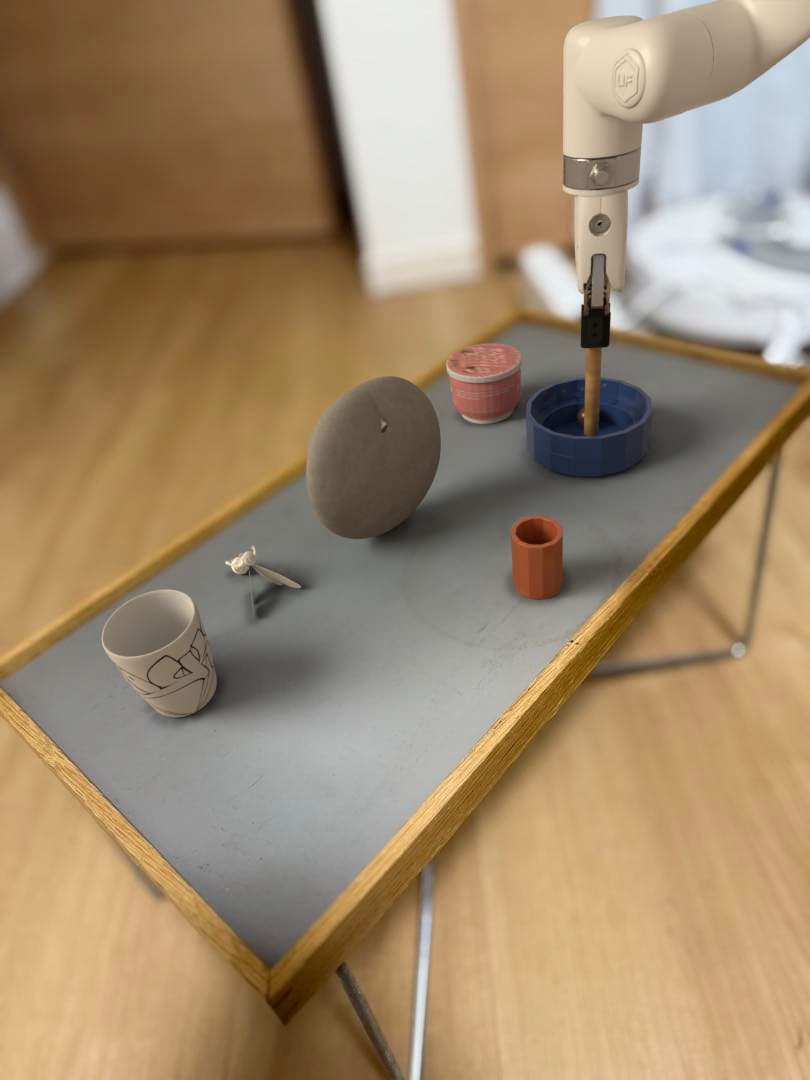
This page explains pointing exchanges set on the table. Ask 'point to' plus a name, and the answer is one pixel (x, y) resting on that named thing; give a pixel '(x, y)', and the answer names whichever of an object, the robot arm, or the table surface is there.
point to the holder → (537, 556)
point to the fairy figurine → (257, 569)
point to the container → (485, 381)
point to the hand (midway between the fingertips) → (594, 340)
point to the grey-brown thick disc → (372, 457)
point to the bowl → (563, 439)
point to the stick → (592, 390)
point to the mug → (163, 651)
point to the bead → (582, 417)
